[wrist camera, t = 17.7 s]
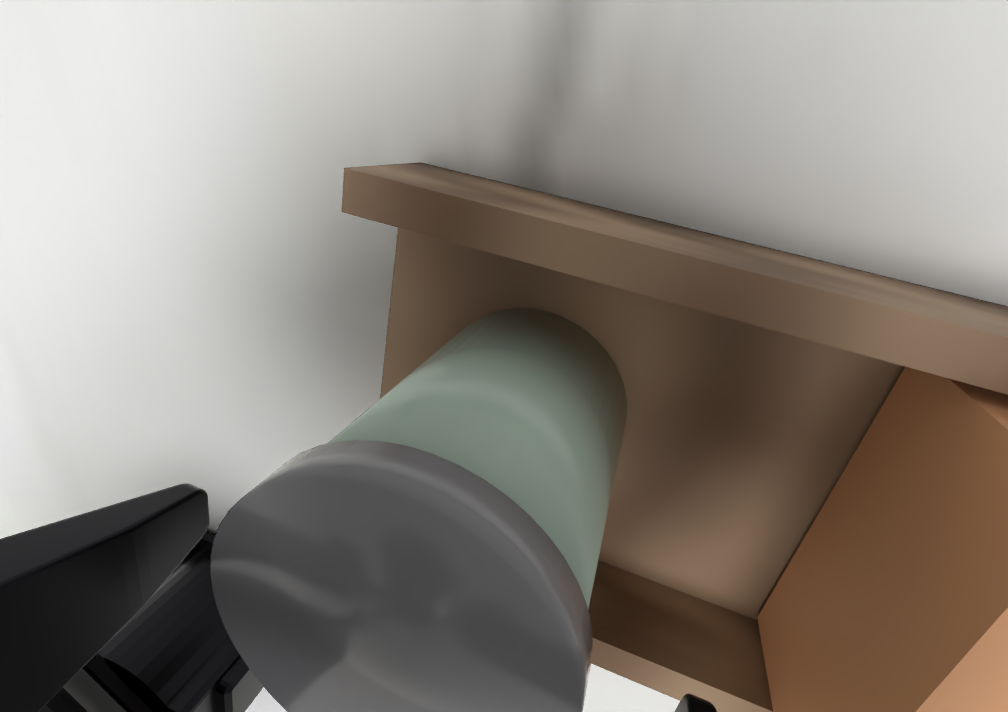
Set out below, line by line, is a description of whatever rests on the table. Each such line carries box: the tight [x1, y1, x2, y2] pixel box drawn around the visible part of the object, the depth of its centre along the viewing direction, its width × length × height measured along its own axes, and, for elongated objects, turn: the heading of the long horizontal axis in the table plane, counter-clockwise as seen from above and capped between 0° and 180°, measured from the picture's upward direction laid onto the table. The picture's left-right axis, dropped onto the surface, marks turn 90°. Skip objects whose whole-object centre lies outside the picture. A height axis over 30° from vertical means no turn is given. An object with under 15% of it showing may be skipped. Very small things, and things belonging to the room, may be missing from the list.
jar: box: [211, 308, 627, 712], centre depth 12 cm, size 6×6×9 cm
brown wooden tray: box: [342, 163, 1008, 712], centre depth 14 cm, size 18×12×4 cm, turn 79°
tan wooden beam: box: [757, 367, 1008, 712], centre depth 11 cm, size 2×9×6 cm, turn 169°
